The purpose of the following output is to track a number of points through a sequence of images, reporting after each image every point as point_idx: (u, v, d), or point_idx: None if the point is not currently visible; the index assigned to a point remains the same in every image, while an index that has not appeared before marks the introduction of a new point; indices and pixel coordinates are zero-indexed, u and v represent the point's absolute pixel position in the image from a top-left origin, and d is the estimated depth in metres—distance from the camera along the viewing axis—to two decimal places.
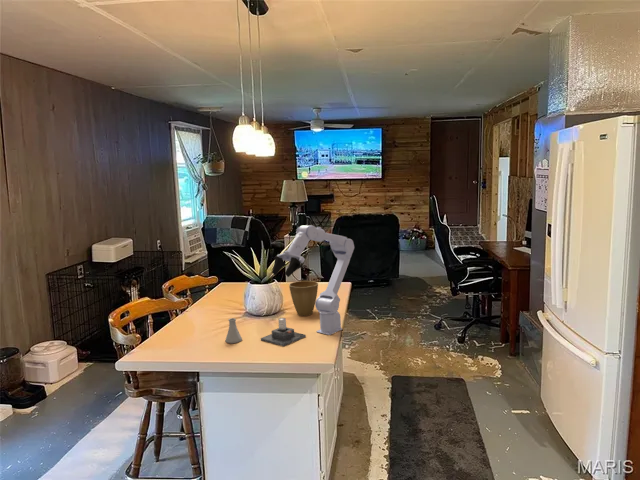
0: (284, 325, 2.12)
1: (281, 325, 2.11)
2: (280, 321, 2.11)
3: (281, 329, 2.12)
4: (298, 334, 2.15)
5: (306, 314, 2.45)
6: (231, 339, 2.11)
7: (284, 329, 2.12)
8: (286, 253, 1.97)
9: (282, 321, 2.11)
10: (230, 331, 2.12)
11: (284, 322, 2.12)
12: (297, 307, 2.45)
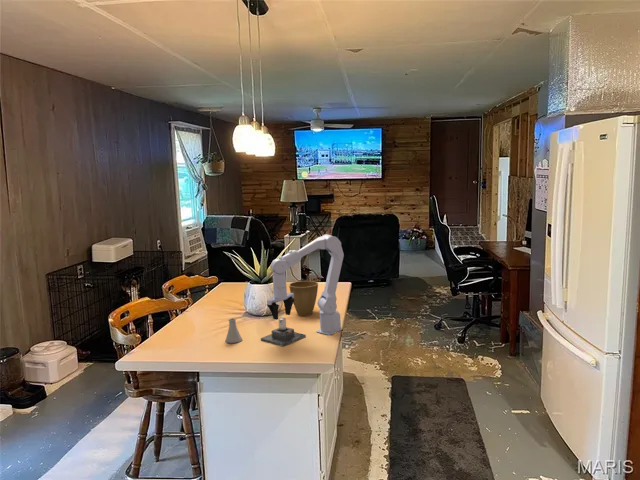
0: (284, 325, 2.12)
1: (281, 325, 2.11)
2: (280, 321, 2.11)
3: (281, 329, 2.12)
4: (298, 334, 2.15)
5: (306, 314, 2.45)
6: (231, 339, 2.11)
7: (284, 329, 2.12)
8: None
9: (282, 321, 2.11)
10: (230, 331, 2.12)
11: (284, 322, 2.12)
12: (297, 307, 2.45)
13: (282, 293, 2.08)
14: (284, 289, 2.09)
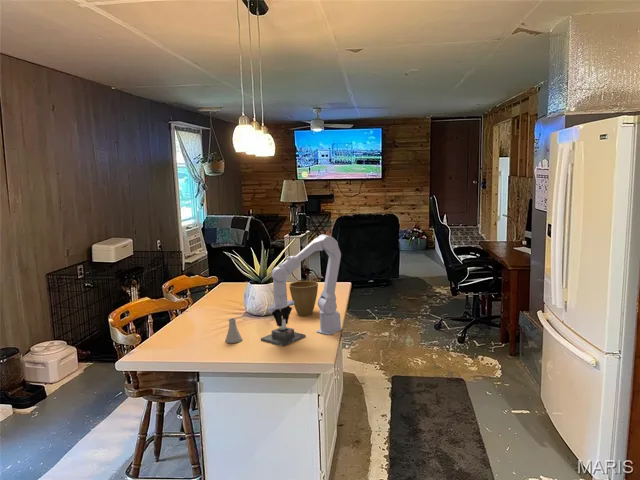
0: (284, 325, 2.12)
1: None
2: None
3: (281, 329, 2.12)
4: (298, 334, 2.15)
5: (306, 314, 2.45)
6: (231, 339, 2.11)
7: (284, 329, 2.12)
8: None
9: (282, 321, 2.11)
10: (230, 331, 2.12)
11: (284, 322, 2.12)
12: (297, 307, 2.45)
13: (283, 301, 2.09)
14: (285, 297, 2.09)
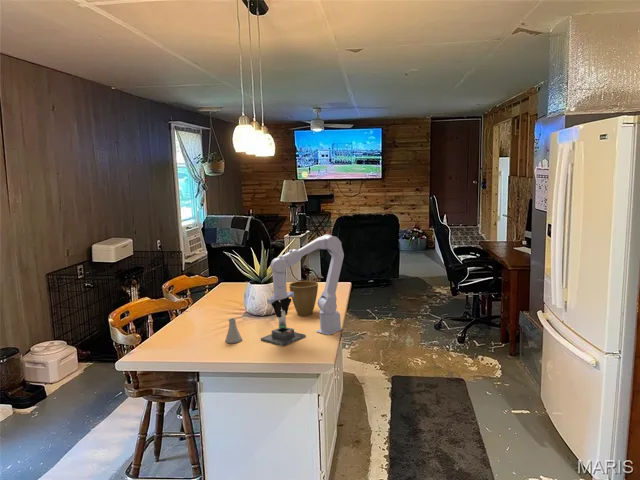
0: (283, 316, 2.11)
1: None
2: None
3: (280, 320, 2.11)
4: (298, 334, 2.15)
5: (306, 314, 2.45)
6: (231, 339, 2.11)
7: (283, 320, 2.11)
8: None
9: (281, 312, 2.11)
10: (230, 331, 2.12)
11: (283, 313, 2.11)
12: (297, 307, 2.45)
13: (282, 292, 2.08)
14: (284, 288, 2.09)
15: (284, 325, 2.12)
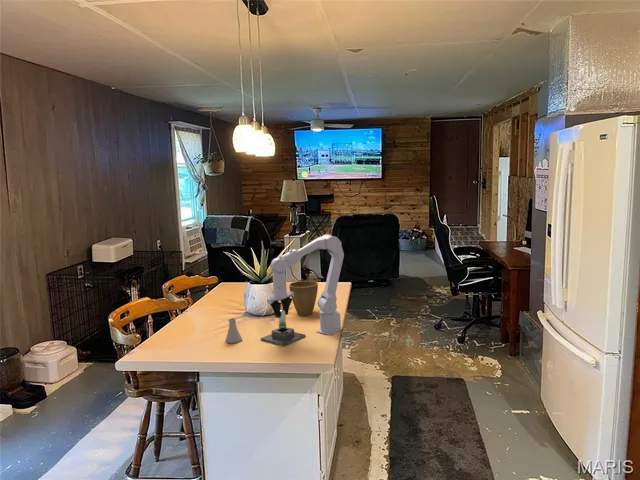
0: (283, 316, 2.11)
1: (280, 316, 2.11)
2: None
3: (280, 320, 2.11)
4: (298, 334, 2.15)
5: (306, 314, 2.45)
6: (231, 339, 2.11)
7: (283, 320, 2.11)
8: None
9: (281, 312, 2.11)
10: (230, 331, 2.12)
11: (283, 313, 2.11)
12: (297, 307, 2.45)
13: (282, 292, 2.08)
14: (284, 288, 2.09)
15: (284, 325, 2.12)
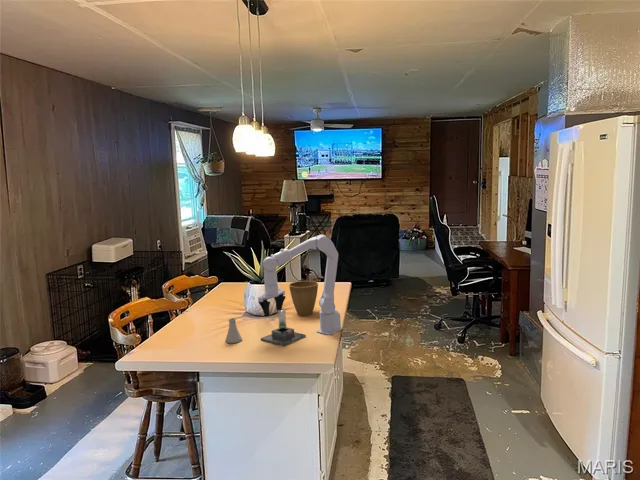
0: (283, 316, 2.11)
1: (280, 316, 2.11)
2: (279, 312, 2.11)
3: (280, 320, 2.11)
4: (298, 334, 2.15)
5: (306, 314, 2.45)
6: (231, 339, 2.11)
7: (283, 320, 2.11)
8: None
9: (281, 312, 2.11)
10: (230, 331, 2.12)
11: (283, 313, 2.11)
12: (297, 307, 2.45)
13: (273, 290, 2.12)
14: (275, 286, 2.12)
15: (284, 325, 2.12)
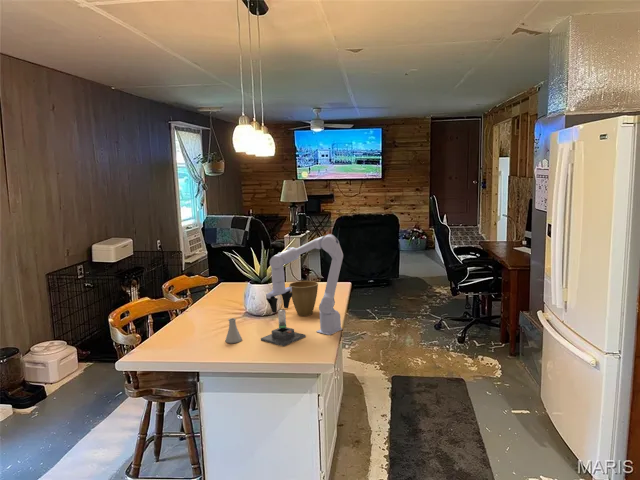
0: (283, 316, 2.11)
1: (280, 316, 2.11)
2: (279, 312, 2.11)
3: (280, 320, 2.11)
4: (298, 334, 2.15)
5: (306, 314, 2.45)
6: (231, 339, 2.11)
7: (283, 320, 2.11)
8: None
9: (281, 312, 2.11)
10: (230, 331, 2.12)
11: (283, 313, 2.11)
12: (297, 307, 2.45)
13: (280, 287, 2.17)
14: (282, 283, 2.18)
15: (284, 325, 2.12)
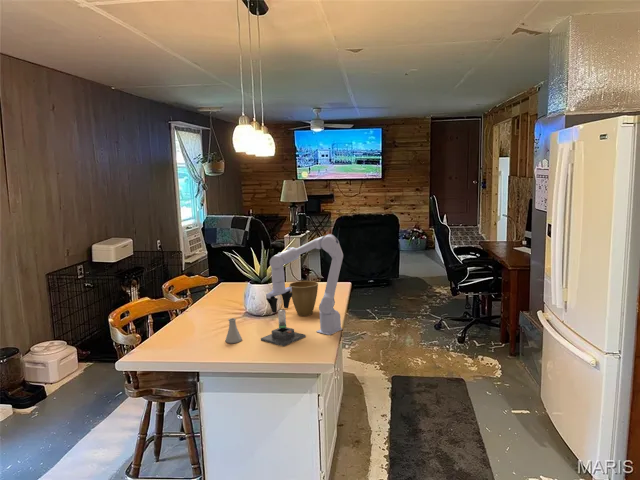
0: (283, 316, 2.11)
1: (280, 316, 2.11)
2: (279, 312, 2.11)
3: (280, 320, 2.11)
4: (298, 334, 2.15)
5: (306, 314, 2.45)
6: (231, 339, 2.11)
7: (283, 320, 2.11)
8: None
9: (281, 312, 2.11)
10: (230, 331, 2.12)
11: (283, 313, 2.11)
12: (297, 307, 2.45)
13: (280, 287, 2.17)
14: (282, 283, 2.18)
15: (284, 325, 2.12)
